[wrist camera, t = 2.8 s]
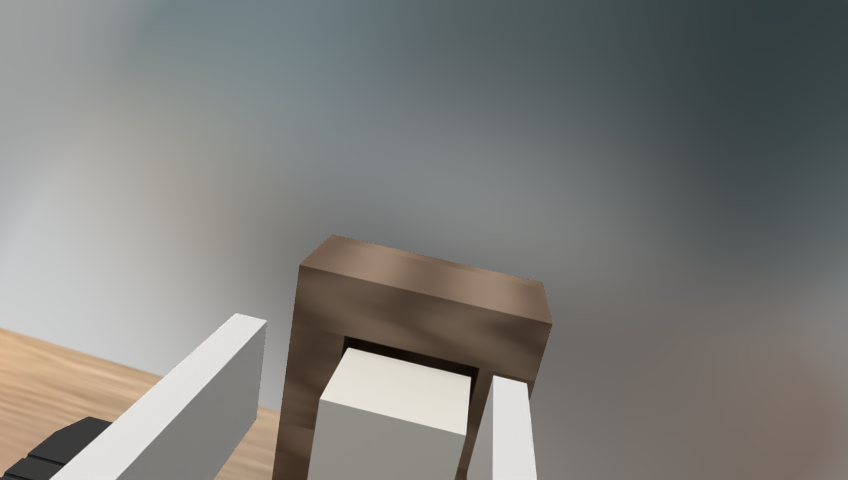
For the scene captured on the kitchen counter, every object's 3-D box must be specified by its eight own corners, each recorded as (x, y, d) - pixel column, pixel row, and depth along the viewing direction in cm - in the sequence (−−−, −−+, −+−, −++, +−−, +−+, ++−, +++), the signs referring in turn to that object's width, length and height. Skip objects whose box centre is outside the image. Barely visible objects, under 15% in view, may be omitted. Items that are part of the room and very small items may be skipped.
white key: (448, 464, 31) (470, 377, 29) (439, 534, 26) (466, 435, 24) (333, 435, 31) (348, 347, 29) (304, 499, 26) (319, 398, 25)
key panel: (462, 562, 41) (542, 282, 34) (457, 640, 35) (552, 323, 28) (290, 516, 42) (331, 234, 35) (258, 585, 36) (299, 264, 29)
